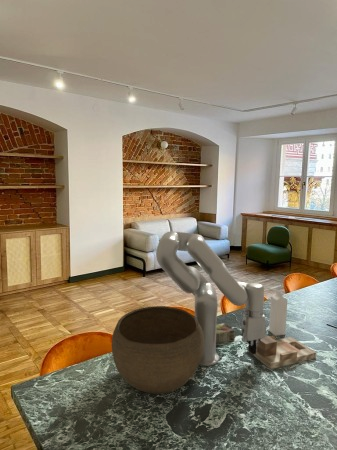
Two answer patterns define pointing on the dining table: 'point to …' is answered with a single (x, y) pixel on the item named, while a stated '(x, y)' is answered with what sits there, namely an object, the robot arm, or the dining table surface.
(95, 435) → the dining table surface
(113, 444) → the dining table surface
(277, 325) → the milk
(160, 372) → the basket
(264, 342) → the light brown block
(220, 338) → the juice carton
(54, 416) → the dining table surface
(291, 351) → the tan puzzle board
